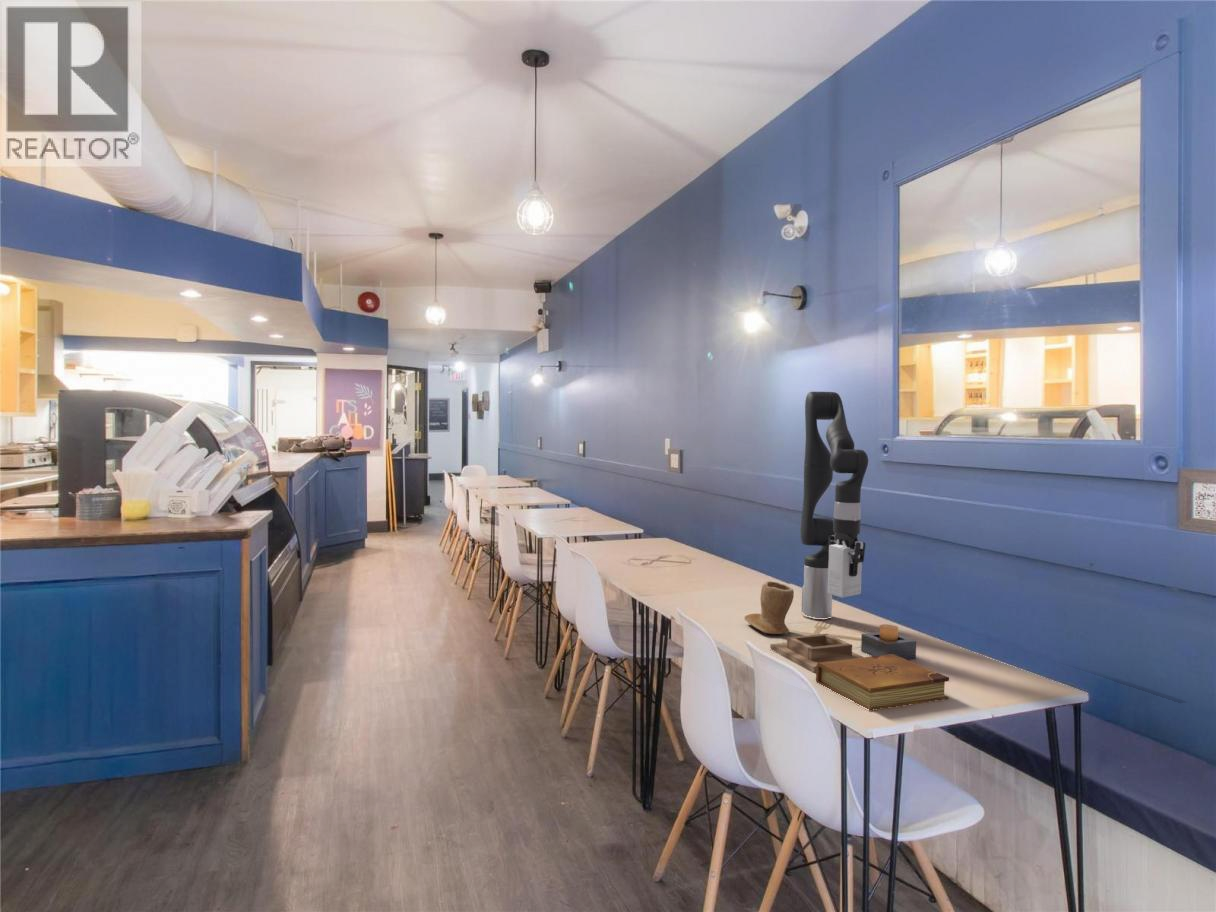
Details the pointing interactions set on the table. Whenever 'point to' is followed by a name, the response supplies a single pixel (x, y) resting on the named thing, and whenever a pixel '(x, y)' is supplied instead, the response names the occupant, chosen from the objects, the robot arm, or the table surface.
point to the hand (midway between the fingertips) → (845, 573)
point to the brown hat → (772, 608)
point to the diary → (881, 681)
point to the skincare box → (842, 573)
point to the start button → (888, 632)
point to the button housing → (888, 646)
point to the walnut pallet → (814, 650)
